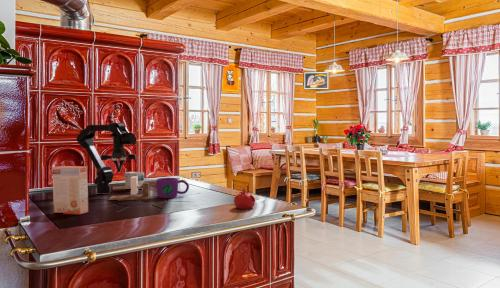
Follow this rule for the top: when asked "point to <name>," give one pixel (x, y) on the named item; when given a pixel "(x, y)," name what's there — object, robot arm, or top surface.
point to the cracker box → (70, 189)
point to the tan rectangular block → (134, 185)
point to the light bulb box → (130, 174)
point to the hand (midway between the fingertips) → (119, 172)
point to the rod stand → (132, 197)
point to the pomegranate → (244, 200)
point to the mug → (169, 187)
